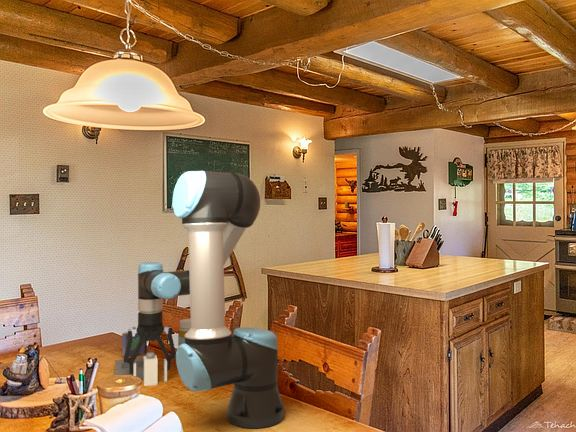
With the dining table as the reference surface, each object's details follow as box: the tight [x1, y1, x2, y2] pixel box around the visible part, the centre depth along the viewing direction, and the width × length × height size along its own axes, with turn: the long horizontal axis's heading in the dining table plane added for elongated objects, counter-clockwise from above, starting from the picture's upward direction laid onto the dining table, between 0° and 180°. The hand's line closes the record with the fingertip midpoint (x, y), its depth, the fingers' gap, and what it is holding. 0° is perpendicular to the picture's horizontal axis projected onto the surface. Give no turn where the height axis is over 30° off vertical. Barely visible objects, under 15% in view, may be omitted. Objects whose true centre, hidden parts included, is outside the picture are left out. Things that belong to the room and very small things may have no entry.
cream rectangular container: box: [142, 351, 159, 387], centre depth 158 cm, size 5×4×10 cm
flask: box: [121, 326, 148, 359], centre depth 188 cm, size 9×3×11 cm, turn 122°
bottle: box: [177, 318, 191, 348], centre depth 179 cm, size 7×7×15 cm
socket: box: [114, 357, 143, 380], centre depth 167 cm, size 14×13×4 cm
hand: (150, 381), depth 158 cm, fingers open, 9 cm apart
